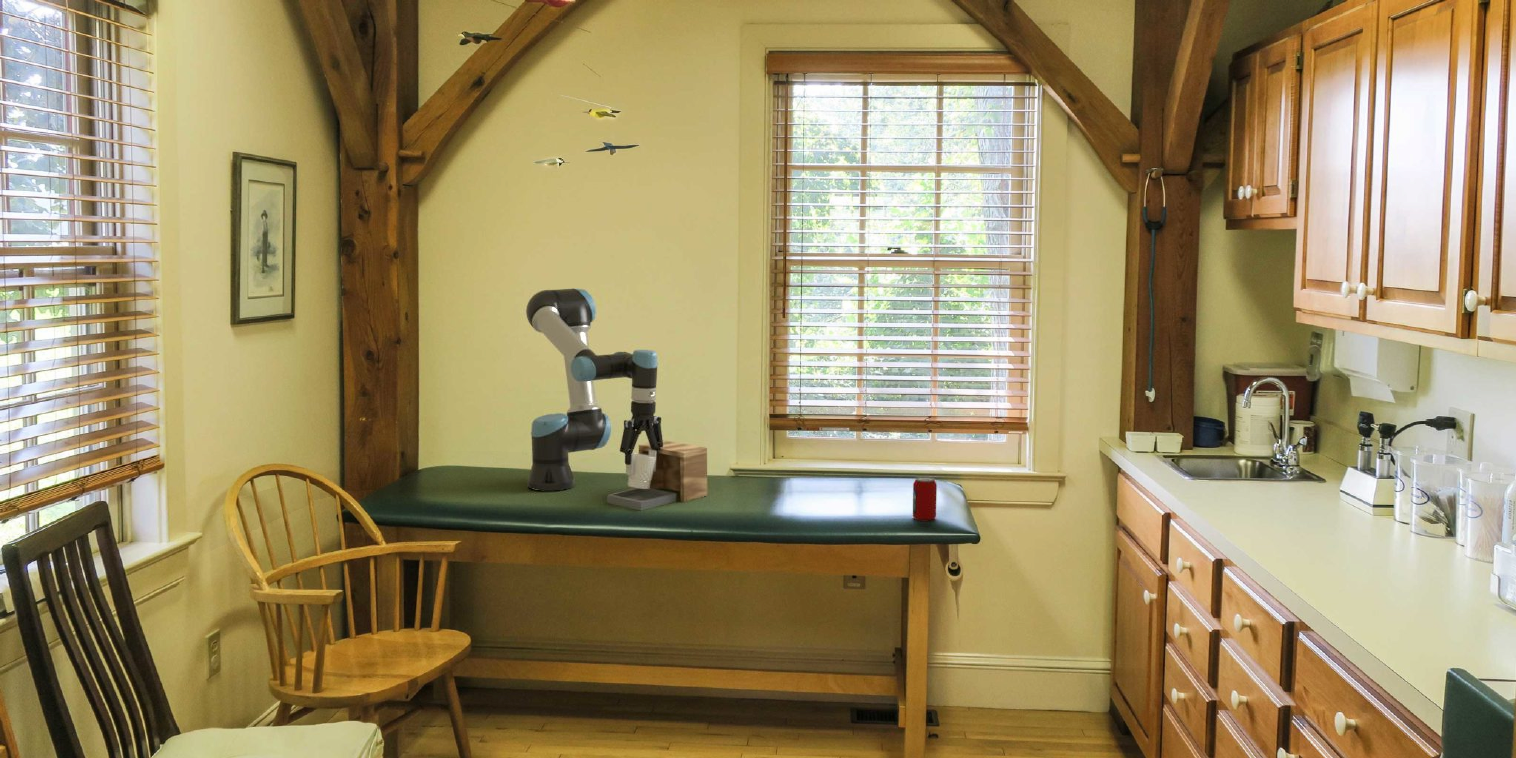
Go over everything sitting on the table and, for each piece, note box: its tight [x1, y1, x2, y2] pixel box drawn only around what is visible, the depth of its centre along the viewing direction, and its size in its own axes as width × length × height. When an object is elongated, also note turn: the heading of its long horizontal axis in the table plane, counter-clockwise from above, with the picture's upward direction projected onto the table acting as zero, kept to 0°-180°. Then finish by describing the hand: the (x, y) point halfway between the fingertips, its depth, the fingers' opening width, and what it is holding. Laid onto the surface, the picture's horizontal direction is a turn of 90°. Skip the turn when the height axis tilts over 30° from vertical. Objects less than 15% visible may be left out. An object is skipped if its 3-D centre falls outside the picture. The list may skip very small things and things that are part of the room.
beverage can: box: [912, 476, 938, 522], centre depth 336 cm, size 7×7×12 cm
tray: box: [606, 488, 677, 511], centre depth 357 cm, size 15×15×2 cm
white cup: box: [627, 452, 656, 489], centre depth 357 cm, size 8×8×10 cm
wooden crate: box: [638, 439, 708, 503], centre depth 367 cm, size 20×10×16 cm, turn 50°
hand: (640, 472), depth 357 cm, fingers open, 9 cm apart
